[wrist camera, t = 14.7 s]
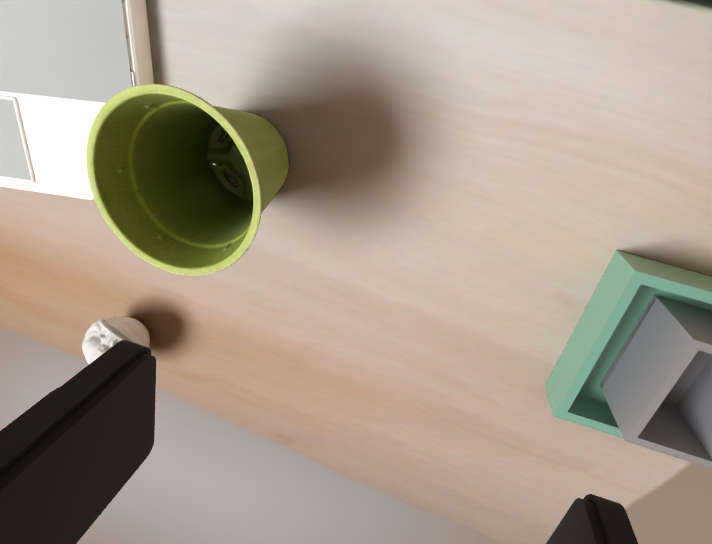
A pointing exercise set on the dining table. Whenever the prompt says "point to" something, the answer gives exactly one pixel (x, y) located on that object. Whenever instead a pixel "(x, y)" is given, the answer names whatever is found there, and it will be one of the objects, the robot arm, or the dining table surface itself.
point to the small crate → (665, 381)
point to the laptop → (63, 84)
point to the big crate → (614, 333)
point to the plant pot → (182, 176)
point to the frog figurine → (113, 335)
